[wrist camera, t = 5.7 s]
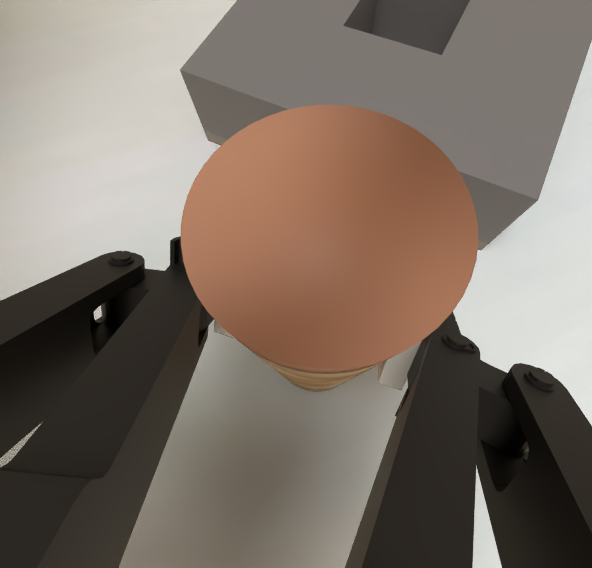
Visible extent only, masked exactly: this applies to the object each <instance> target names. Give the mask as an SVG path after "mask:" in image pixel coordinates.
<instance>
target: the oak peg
mask: <svg viewBox="0 0 592 568" xmlns="http://www.w3.org/2000/svg"><path fill="white" fill-rule="evenodd" d="M181 249H182V255H183V262H184V265H185V268H186V272H187V275H188V278H189V281H190V283H191V285H192V287H193V289H194V291H195V293H196V295H197V297H198V298H199V300H200V301H201V303H202V304H203V306H204V307H205V309H206V310H207V312H208V313H209V314H210V315H211V316H212V317H213V318H214V319H215V320H216V322H217V323H218V324H219V325H220V326H221V327H222V328H224V329H225V330H226V331H227V332H228V333H230V334H231V335H232V336H233V337H234V338H236V339H237V340H238V341H239V342H241V343H242V344H243V345H244V346H246V347H247V348H248V349H250V350H251V351H252V352H253V353H255V354H256V355H257V356H259V357H260V358H261V359H262V360H264V361H265V362H266V363H267V364H269V365H270V366H271V367H273V368H274V369H275V370H276V371H278V372H279V373H280V374H282V375H283V376H284V377H285V378H287V379H288V380H289V381H290V382H292V383H293V384H295V385H296V386H298V387H300V388H302V389H305V390H309V391H325V390H328V389H331V388H334V387H336V386H338V385H339V384H341V383H343V382H345V381H347V380H349V379H351V378H353V377H355V376H357V375H359V374H361V373H363V372H365V371H367V370H369V369H371V368H372V367H374V366H376V365H378V364H380V363H382V362H384V361H386V360H388V359H390V358H392V357H394V356H396V355H398V354H400V353H402V352H404V351H405V350H407V349H409V348H410V347H412V346H414V345H415V344H417V343H419V342H420V341H422V340H423V339H424V338H426V337H427V336H428V335H429V334H431V333H432V332H433V331H434V330H436V329H437V328H438V327H439V326H440V325H441V324H442V323H443V322H444V321H445V319H446V318H447V317H448V316H449V315H450V314H451V313H452V312H453V310H454V309H455V307H456V306H457V304H458V303H459V301H460V300H461V298H462V297H463V295H464V293H465V290H466V288H467V286H468V284H469V282H470V280H471V277H472V273H473V270H474V266H475V263H476V258H477V250H478V223H477V218H476V212H475V207H474V204H473V201H472V198H471V195H470V192H469V190H468V188H467V186H466V184H465V182H464V180H463V178H462V176H461V175H460V173H459V172H458V170H457V169H456V167H455V166H454V164H453V163H452V161H451V160H450V159H449V158H448V157H447V156H446V155H445V154H444V152H443V151H442V150H441V149H440V148H439V147H438V146H436V145H435V144H434V143H433V142H432V141H431V140H430V139H428V138H427V137H426V136H424V135H423V134H421V133H420V132H419V131H417V130H416V129H414V128H413V127H411V126H409V125H407V124H405V123H403V122H401V121H400V120H397V119H395V118H392V117H390V116H388V115H385V114H382V113H379V112H376V111H372V110H369V109H364V108H359V107H353V106H344V105H313V106H305V107H298V108H294V109H289V110H285V111H281V112H279V113H276V114H273V115H270V116H267V117H265V118H263V119H260V120H258V121H256V122H254V123H252V124H250V125H249V126H247V127H245V128H244V129H242V130H240V131H239V132H237V133H236V134H235V135H233V136H232V137H231V138H230V139H228V140H227V141H226V142H225V143H223V144H222V145H221V146H220V147H219V148H218V149H217V150H216V151H215V152H214V153H213V154H212V156H211V157H210V158H209V159H208V161H207V162H206V163H205V164H204V166H203V167H202V169H201V170H200V172H199V174H198V175H197V177H196V178H195V180H194V182H193V185H192V187H191V189H190V191H189V194H188V196H187V200H186V203H185V207H184V210H183V216H182V223H181Z"/></svg>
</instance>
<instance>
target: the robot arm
mask: <svg viewBox="0 0 592 568" xmlns="http://www.w3.org/2000/svg"><path fill="white" fill-rule="evenodd" d="M100 305H101V310H102V317H100V318H99V319H97V320H95V319H94V314H93V312H94V311H95V310H96V309H97V308H98V307H99V306H100ZM213 320H214V318H213V317H212V316H211V315H210V314H209V313H208V312H207V310H206V309H205V307H204V306H203V304H202V303H201V301H200V300H199V298H198V297H197V295H196V293H195V291H194V289H193V287H192V285H191V283H190V281H189V278H188V275H187V272H186V268H185V265H184V262H183V255H182V249H181V237H177V238H174V239H172V240H170V266H169V267H168V268H167V269H166V271H160V270H151V269H145V265H144V258H143V257H142V256H141V255H138V254H136V253H131V252H128V251H116V252H112V253H107V254H104V255H101V256H99V257H97V258H95V259H92V260H90V261H88V262H86V263H84V264H81V265H79V266H77V267H75V268H72V269H70V270H68V271H66V272H64V273H61V274H59V275H57V276H55V277H52V278H50V279H48V280H46V281H44V282H41V283H39V284H37V285H35V286H33V287H30V288H28V289H26V290H24V291H21V292H19V293H17V294H15V295H13V296H10V297H8V298H6V299H4V300H1V301H0V458H1V457H2V456H3V455H4V454H5V453H6V452H8V451H9V450H10V449H11V448H12V447H13V446H15V445H16V444H17V443H18V442H19V441H20V440H22V439H23V438H24V437H25V436H26V435H27V434H29V433H30V432H31V431H32V430H33V429H34V428H36V427H37V426H38V425H39V424H40V423H41V422H42V421H43V422H42V424H41V425H40V426H39V427H38V429H37V430H36V431H35V432H34V434H33V435H32V436H31V437H30V438H29V440H28V441H27V442H26V443H25V445H24V446H23V447H22V448H21V450H20V451H19V452H18V453H17V455H16V456H15V457H14V458H13V459H12V460H11V461H10V462H9V463H8V464H6V465H4V466H2V467H1V468H0V568H119V565H120V562H121V559H122V556H123V554H124V551H125V549H126V546H127V543H128V541H129V538H130V536H131V533H132V531H133V528H134V525H135V523H136V520H137V518H138V515H139V512H140V510H141V507H142V505H143V502H144V500H145V497H146V494H147V492H148V489H149V487H150V484H151V481H152V479H153V476H154V474H155V471H156V469H157V466H158V463H159V461H160V458H161V456H162V453H163V450H164V448H165V445H166V443H167V440H168V437H169V435H170V432H171V430H172V427H173V425H174V422H175V419H176V417H177V414H178V412H179V409H180V406H181V404H182V401H183V399H184V396H185V394H186V391H187V388H188V386H189V383H190V381H191V378H192V375H193V373H194V370H195V368H196V365H197V363H198V360H199V357H200V355H201V352H202V350H203V347H204V344H205V342H206V339H207V336H208V325H209V324H210V323H211V322H212V321H213ZM455 320H456V319H455V316H454V315H453V312H452V313H451V314H450V315H449V316H448V317H447V318H446V319H445V321H444V322H443V323H442V324H441V325H440V326H439V327H438V328H437V329H436V330H434V331H433V332H432V333H431V334H429V335H428V336H427V337H426V338H424V339H423V340H422V341H420V342H419V343H417V344H415V345H414V346H412V347H410V348H409V349H407V350H405V351H404V352H402V353H400V354H398V355H396V356H394V357H392V358H390V359H388V360H386V361H384V362H382V363H380V364H379V369H378V383H380V384H383V385H386V386H389V387H393V388H396V389H399V390H402V388H403V386H404V384H405V381H406V379H407V377H408V388H407V390H406V393H405V395H404V397H403V399H402V401H401V404H400V406H399V408H398V410H397V412H396V415H395V416H396V420H395V423H394V426H393V429H392V432H391V435H390V438H389V441H388V443H387V446H386V449H385V452H384V455H383V458H382V461H381V464H380V467H379V470H378V473H377V476H376V479H375V481H374V484H373V487H372V490H371V493H370V496H369V499H368V502H367V505H366V508H365V511H364V514H363V517H362V520H361V522H360V525H359V528H358V531H357V534H356V537H355V540H354V543H353V546H352V549H351V552H350V555H349V558H348V561H347V563H346V566H345V568H472V561H473V534H474V507H475V481H476V465H477V469H478V473H479V477H480V481H481V485H482V489H483V493H484V497H485V501H486V505H487V509H488V513H489V517H490V521H491V525H492V529H493V533H494V537H495V541H496V545H497V549H498V553H499V557H500V561H501V565H502V568H592V426H591V424H590V423H589V421H588V420H587V418H586V417H585V415H584V414H583V412H582V411H581V410H580V408H579V407H578V405H577V404H576V402H575V401H574V399H573V398H572V396H571V395H570V393H569V392H568V390H567V389H566V388H565V387H564V386H563V384H562V383H561V382H560V381H558V380H557V379H556V378H554V377H553V376H552V375H551V374H550V373H548V372H545V370H543V369H540V368H536V367H534V366H531V365H527V364H522V363H520V364H514V365H513V366H512V367H511V369H510V370H509V372H508V373H506V372H504V371H502V370H499V369H497V368H495V367H493V366H491V365H489V364H487V363H485V362H483V361H482V360H480V351H479V348H478V347H477V346H476V345H475V344H474V342H472V341H471V340H469V339H468V338H467V337H465V336H463V335H461V333H460V330H459V327H458V325H457V322H456V321H455ZM214 332H216V333H220V334H223V335H226V336H229V337H232V338H234V337H233V336H232V335H231V334H230V333H228V332H227V331H226V330H225V329H224V328H222V327H221V326H220V325H219V324H218V323H217V322H216V320H215V324H214Z"/></svg>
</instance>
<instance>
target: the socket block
mask: <svg viewBox="0 0 592 568" xmlns="http://www.w3.org/2000/svg"><path fill="white" fill-rule="evenodd" d="M591 40H592V0H237V1H236V3H235V4H234V5H233V6H232V7H231V9H230V10H229V11H228V12H227V13H226V15H225V16H224V17H223V18H222V19H221V21H220V22H219V23H218V24H217V26H216V27H215V28H214V29H213V30H212V32H211V33H210V34H209V35H208V36H207V38H206V39H205V40H204V41H203V43H202V44H201V45H200V46H199V47H198V49H197V50H196V51H195V52H194V53H193V55H192V56H191V57H190V58H189V60H188V61H187V62H186V63H185V64H184V66H183V67H182V68H181V69H180V71H181V74H182V76H183V79H184V81H185V84H186V86H187V89H188V91H189V94H190V96H191V99H192V101H193V104H194V106H195V109H196V111H197V113H198V116H199V118H200V121H201V123H202V126H203V128H204V131H205V133H206V136H207V138H208V140H209V141H212V142H214V143H217V144H219V145H222V144H223V143H225V142H226V141H227V140H228V139H230V138H231V137H232V136H233V135H235V134H236V133H237V132H239V131H240V130H242V129H244V128H245V127H247V126H249V125H250V124H252V123H254V122H256V121H258V120H260V119H263V118H265V117H267V116H270V115H273V114H276V113H279V112H281V111H285V110H289V109H294V108H298V107H305V106H313V105H344V106H353V107H359V108H364V109H369V110H372V111H376V112H379V113H382V114H385V115H388V116H390V117H392V118H395V119H397V120H400V121H401V122H403V123H405V124H407V125H409V126H411V127H413V128H414V129H416V130H417V131H419V132H420V133H421V134H423V135H424V136H426V137H427V138H428V139H430V140H431V141H432V142H433V143H434V144H435V145H436V146H438V147H439V148H440V149H441V150H442V151H443V152H444V154H445V155H446V156H447V157H448V158H449V159H450V160H451V161H452V163H453V164H454V166H455V167H456V169H457V170H458V172H459V173H460V175H461V176H462V178H463V180H464V182H465V184H466V186H467V188H468V190H469V192H470V195H471V198H472V201H473V204H474V207H475V212H476V218H477V223H478V249H479V250H482V249H483V248H484V247H485V246H486V245H487V244H489V243H490V242H491V241H492V240H493V239H494V238H495V237H497V236H498V235H499V234H500V233H501V232H502V231H503V230H505V229H506V228H507V227H508V226H509V225H510V224H511V223H512V222H514V221H515V220H516V219H517V218H518V217H519V216H520V215H522V214H523V213H524V212H525V211H526V210H527V209H528V208H530V207H531V206H532V205H533V204H534V203H535V202H536V201H538V199H539V196H540V193H541V190H542V187H543V184H544V181H545V178H546V175H547V172H548V169H549V166H550V163H551V160H552V157H553V154H554V151H555V148H556V145H557V142H558V139H559V136H560V133H561V130H562V127H563V124H564V121H565V118H566V115H567V112H568V109H569V106H570V103H571V100H572V97H573V94H574V91H575V88H576V85H577V82H578V79H579V76H580V73H581V70H582V67H583V64H584V61H585V58H586V55H587V52H588V49H589V46H590V43H591Z"/></svg>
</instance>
